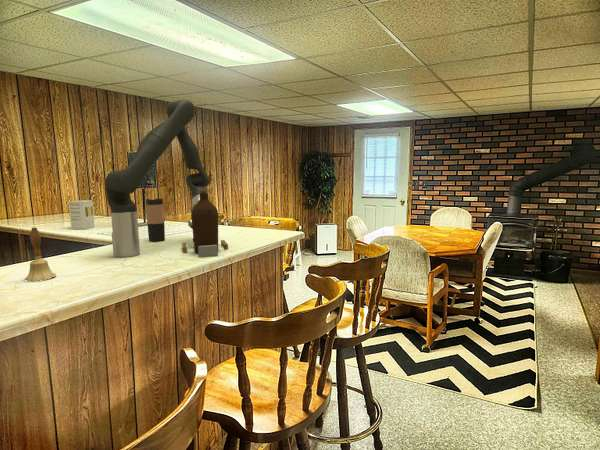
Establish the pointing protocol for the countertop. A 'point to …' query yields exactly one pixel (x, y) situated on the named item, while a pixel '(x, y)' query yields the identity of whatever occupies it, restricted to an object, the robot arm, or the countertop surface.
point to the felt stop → (208, 250)
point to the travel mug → (155, 220)
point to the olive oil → (204, 222)
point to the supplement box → (81, 214)
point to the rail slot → (221, 244)
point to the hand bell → (38, 261)
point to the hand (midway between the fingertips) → (205, 239)
